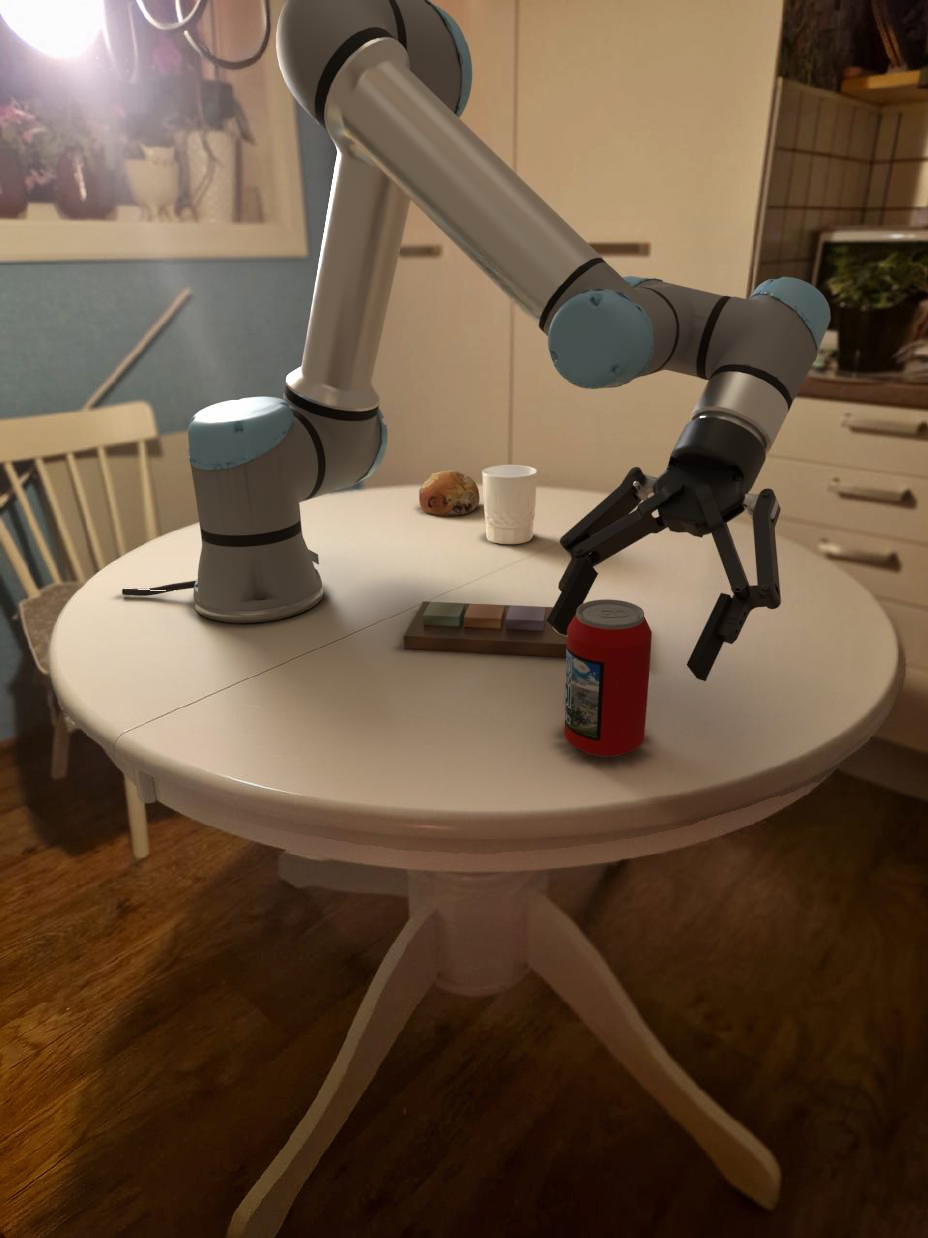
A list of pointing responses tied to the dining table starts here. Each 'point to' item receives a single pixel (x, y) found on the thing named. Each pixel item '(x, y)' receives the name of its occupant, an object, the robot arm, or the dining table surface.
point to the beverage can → (607, 677)
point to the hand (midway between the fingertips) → (621, 649)
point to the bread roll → (449, 494)
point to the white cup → (509, 503)
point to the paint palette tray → (485, 629)
